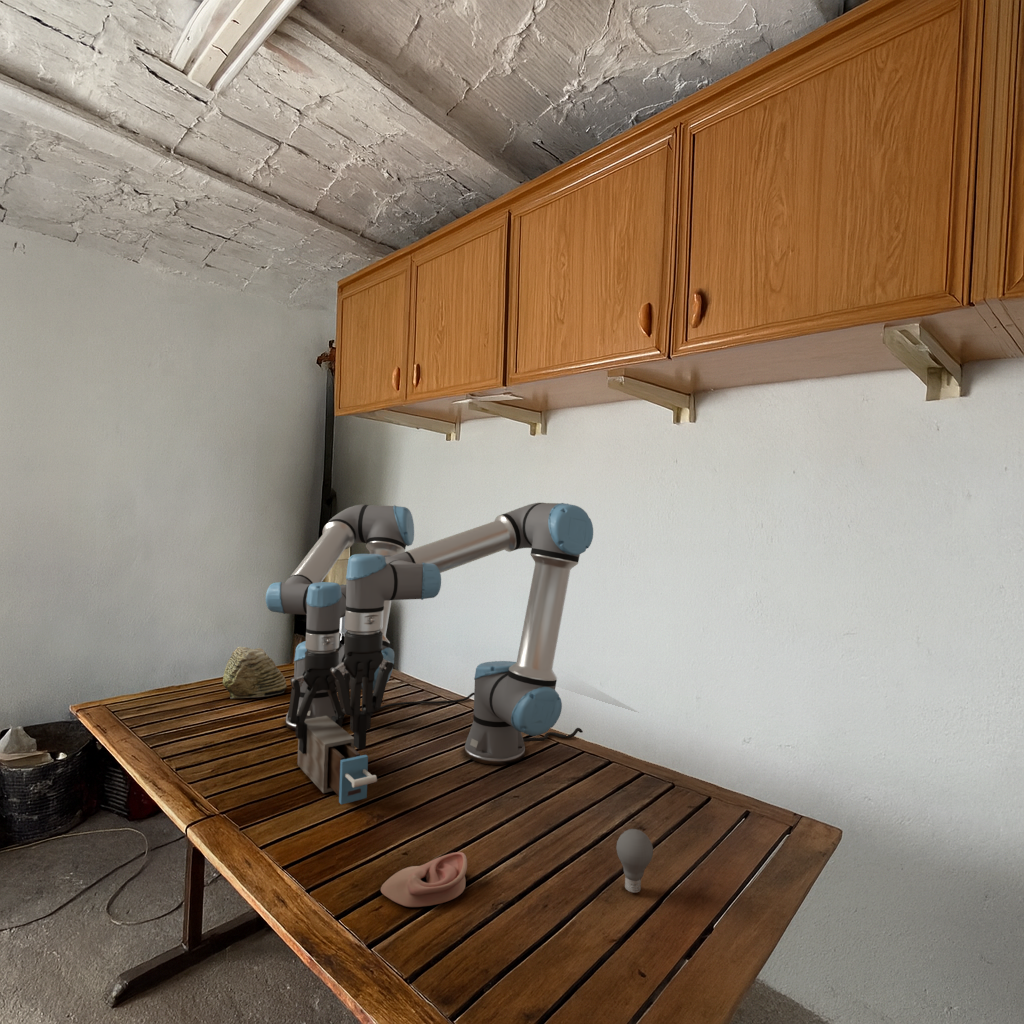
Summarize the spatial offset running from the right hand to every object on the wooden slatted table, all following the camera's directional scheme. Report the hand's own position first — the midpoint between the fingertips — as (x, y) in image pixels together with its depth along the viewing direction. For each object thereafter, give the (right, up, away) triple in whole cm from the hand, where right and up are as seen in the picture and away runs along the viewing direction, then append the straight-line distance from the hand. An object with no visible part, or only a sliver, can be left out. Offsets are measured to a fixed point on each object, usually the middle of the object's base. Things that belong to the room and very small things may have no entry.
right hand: (359, 746), depth 128 cm
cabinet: (-12, -12, +16) cm, 23 cm away
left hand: (-14, -7, +19) cm, 25 cm away
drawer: (-5, -12, +6) cm, 14 cm away
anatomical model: (+17, -14, -24) cm, 33 cm away
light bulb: (+51, -16, -23) cm, 58 cm away
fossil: (-50, -10, +70) cm, 86 cm away
